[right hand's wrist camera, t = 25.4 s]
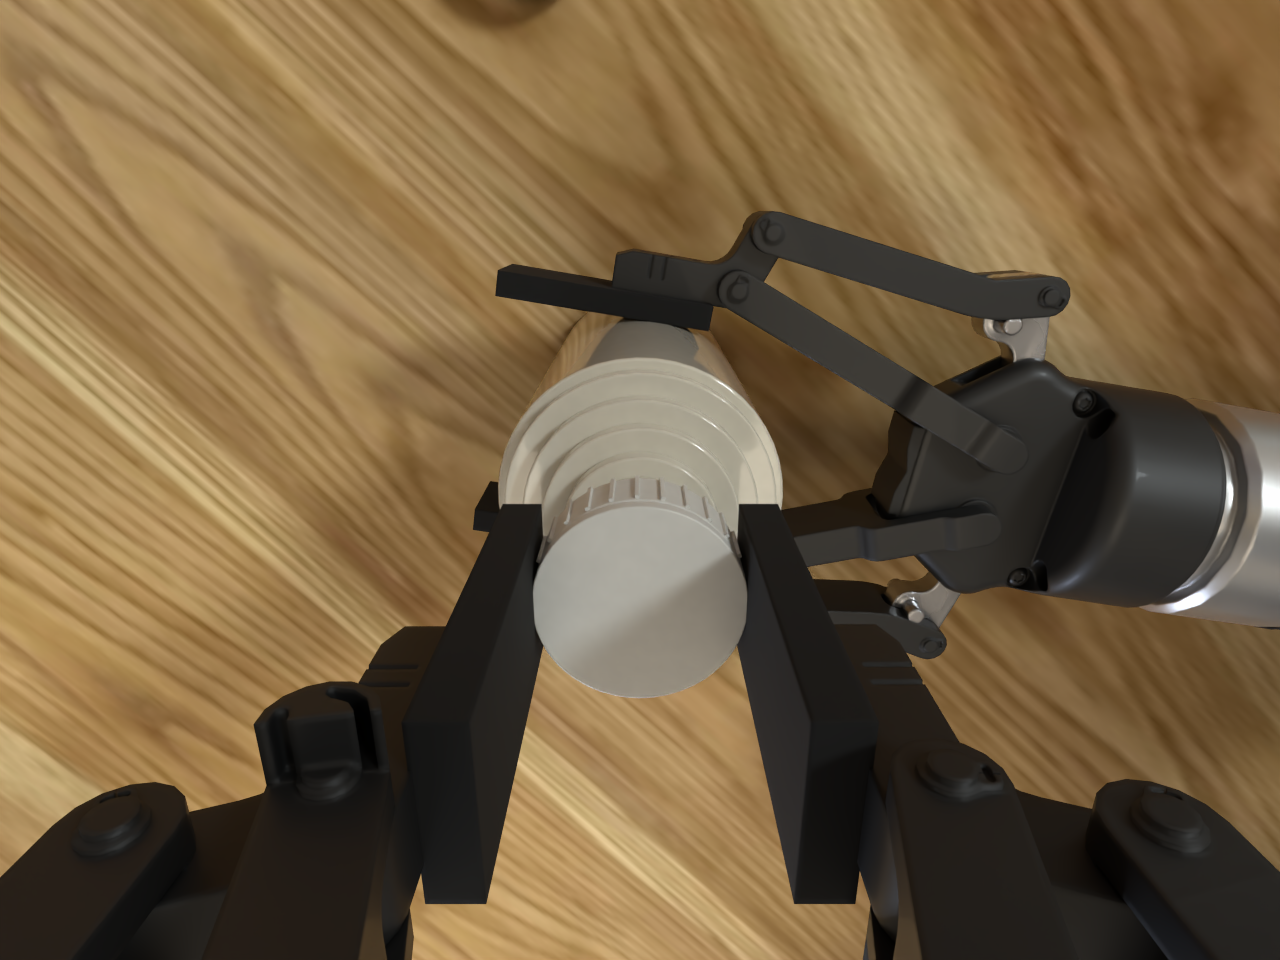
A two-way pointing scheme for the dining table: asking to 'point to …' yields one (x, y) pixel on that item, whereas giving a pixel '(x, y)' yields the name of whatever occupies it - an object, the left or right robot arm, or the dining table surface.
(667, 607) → the cap
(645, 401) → the bottle
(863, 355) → the left robot arm
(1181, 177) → the dining table surface
